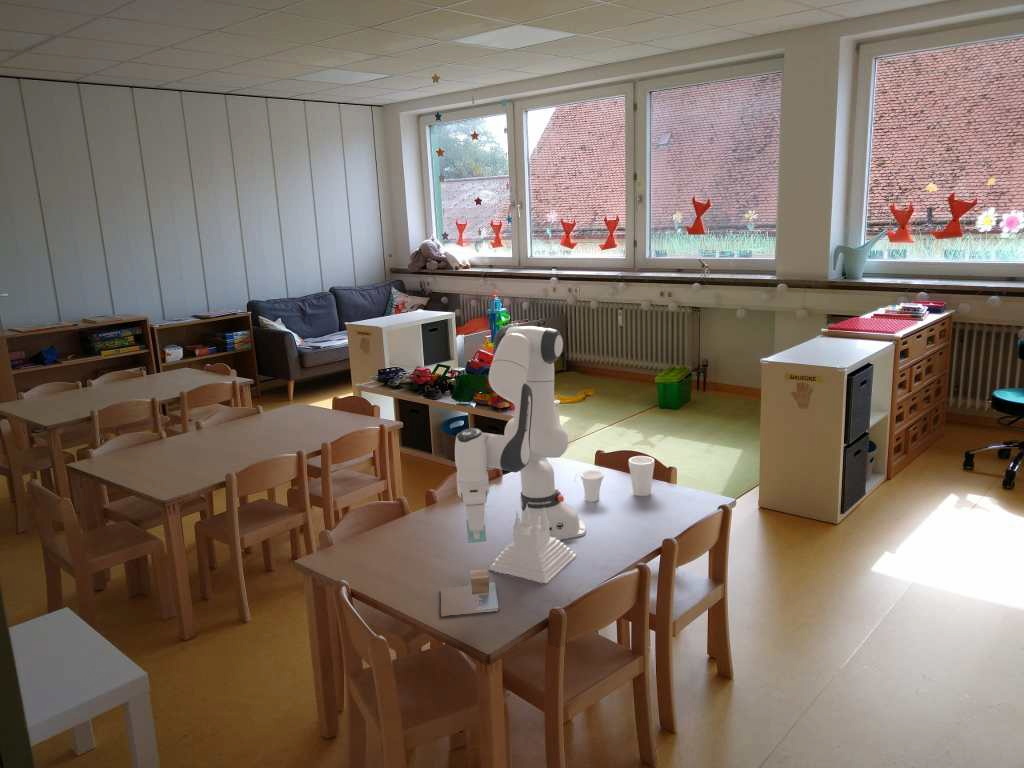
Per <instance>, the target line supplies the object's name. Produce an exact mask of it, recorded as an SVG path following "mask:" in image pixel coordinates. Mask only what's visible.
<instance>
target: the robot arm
mask: <svg viewBox="0 0 1024 768" xmlns="http://www.w3.org/2000/svg"><path fill="white" fill-rule="evenodd" d="M563 347H564V339H563V336H562V334H561V333H560V331H559V330H557V329H555V328H551V327H541V326H535V325H527V326H526V325H525V326H521V325H519V326H512V325H506V326H501V327H500V329H498V330H497V331H496V332H495V335H494V339H493V348H494V351H495V352H494V355H493V359H492V360H491V364H490V367H489V372H488V383H489V386H490V388H491V389H492V391H494V392H495V393H496V395H498V396H499V397H501V398H503V399H505V400H507V401H508V402H509V403H510V402H511V404H513V405H514V417H512V418H511V419H509V420H508V422H507V423H506V425H505V427H504V433H503V434H504V435H503V434H496V433H489V432H483V431H482V430H481V429H479V428H476V427H475V428H473V427H472V428H466V429H463V430H461V431H460V432H458V433H457V434H456V437H455V440H454V441H455V442H454V461H455V463H454V464H455V467H456V471H457V473H456V490H457V495H458V497H459V498H460V499H461V502H462V505H463V506H464V508H465V512H466V513H465V514H466V517H467V518H466V519H468V524H469V528H470V531H471V532H473V536H474V539H479V538H480V531H483V528H484V521H485V508H486V507H485V504H486V503H488V502H487V499H488V496H489V493H490V485H489V483H490V481H489V473H488V471H487V468H490V469H497V470H503V471H507V472H512V473H518V472H520V480H521V482H520V483H521V484H520V485H521V491H520V509H521V518H520V521H521V525H522V526H523V525H524V524H523V519H524V517H525V511H526V506H528V511H530V515H531V518H532V522H533V521H534V519H533V517H534V514H535V517H536V521H537V525H540V522H541V521H542V514H543V509H544V508H545V514H547V518H548V521H549V530H550V537H553V538H556V540H560V541H561V540H567V539H572V538H578V537H583V536H584V535H585V534H586V532H587V527H586V525H585V522H584V521H583V520H582V519H581V518H579V515H578V513H577V511H576V510H575V508H574V507H573V506H571V505H569V504H568V503H567V502H565V497H564V495H563V494H562V493H561V492H560V491H559V490H558V489H556V487H555V470H554V467H553V466H552V464H551V463H550V461H549V460H548V458H551V459H554V458H555V459H556V458H557V459H558V458H560V457H562V456H564V454H565V453H566V451H567V450H568V447H569V436H568V433H567V431H565V429H564V428H563V427H562V424H561V422H560V420H559V417H558V414H557V410H556V405H555V404H556V403H555V362H556V361H557V360H558V359H559V358H560V357H561V355H562V353H563Z"/></svg>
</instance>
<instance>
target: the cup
mask: <svg viewBox="0 0 1024 768" xmlns="http://www.w3.org/2000/svg"><path fill="white" fill-rule="evenodd" d="M579 476H580V478H581V480H582V486H583V488H584V491H583V492H584V501H586V502H588V503H589V502H590V503H594V502H598V501H599V500H600V491H601V486H602V482H603V479H604V478H605V473H604V472H602V471H599V470H594V469H592V470H585V471H582V472H581V473H580V474H579Z"/></svg>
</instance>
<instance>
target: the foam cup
mask: <svg viewBox="0 0 1024 768" xmlns="http://www.w3.org/2000/svg"><path fill="white" fill-rule="evenodd" d="M628 468H629V473H630V479H631V484H632V485H631V486H632V493H633V495H635V496H639V497H645V496H649V495H650V494H651V491H652V485H653V476H654V468H655V459H654V458H653V457H651V456H646V455H637V456H636V455H635V456H632V457H630V458H629V459H628Z"/></svg>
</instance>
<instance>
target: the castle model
mask: <svg viewBox="0 0 1024 768" xmlns="http://www.w3.org/2000/svg"><path fill="white" fill-rule="evenodd" d="M515 514H516V515H515V517H516V518H515V519H514V525H513V541H512V542H511V543H509V544H508V545H507V546H506V547H505V548H504V549H503V550H502V551H501V552H500V554H499V555H498V556H497V557H496V558H495V559H494V562H493V563H492V564H491V566H492V568H495V569H496V570H497V571H498V570H501V572H505V573H509V574H512V575H516V576H519V577H522V578H526V579H529V580H528V581H530V580H533V581H532V582H534V581H537V582H536V583H538V582H540V583H539V584H542V583H545V584H544V585H547V584H548V583H549V582H550V581H552V580H553V579H554V578H555V577H556V576H557V575H558V574H559V573H560V572H561V571H563V569H565V567H567V566H568V565H569V564H570V563H571V562H572V561H574V560H575V558H577V556H578V555H577V553H574V551H573V550H571V547H568V545H566V544H565V542H561V540H556V538H553V537H550V530H549V521H548V518H547V514H545V508H544V509H543V514H542V521H541V522H540V525H537V521H536V517H535V514H534V517H533V519H534V521H533V522H532V518H531V515H530V511H528V506H526V511H525V517H524V519H523V524H524V525H523V526H522V525H521V518H520V517H519V511H518V510H516V513H515ZM552 578H553V579H552ZM526 579H525V580H526ZM546 583H547V584H546Z"/></svg>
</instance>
